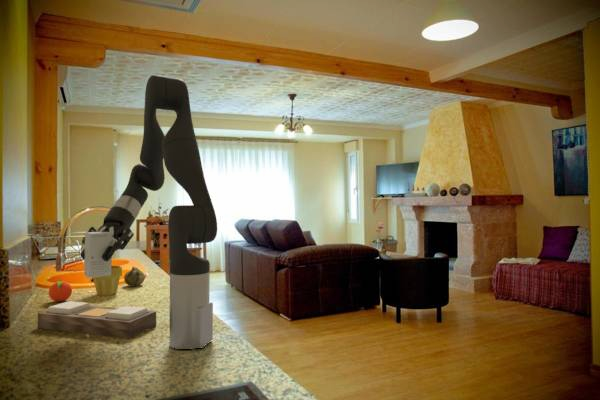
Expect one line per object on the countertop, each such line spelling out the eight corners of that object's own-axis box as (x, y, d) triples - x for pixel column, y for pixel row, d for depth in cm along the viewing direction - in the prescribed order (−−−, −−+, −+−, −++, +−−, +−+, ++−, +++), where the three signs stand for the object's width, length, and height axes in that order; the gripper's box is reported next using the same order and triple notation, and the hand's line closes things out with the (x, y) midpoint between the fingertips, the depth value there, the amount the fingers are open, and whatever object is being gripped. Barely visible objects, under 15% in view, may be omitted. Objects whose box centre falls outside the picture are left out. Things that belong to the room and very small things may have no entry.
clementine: (70, 303, 140) (70, 282, 140) (46, 305, 137) (46, 283, 137) (73, 298, 147) (73, 278, 147) (50, 300, 145) (50, 279, 145)
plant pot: (88, 297, 149) (88, 270, 149) (94, 291, 159) (94, 265, 159) (119, 296, 151) (119, 268, 151) (123, 290, 161) (123, 264, 161)
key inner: (147, 314, 114) (147, 307, 114) (129, 321, 107) (129, 314, 107) (125, 312, 116) (125, 306, 116) (106, 319, 109) (107, 312, 109)
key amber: (117, 316, 116) (117, 309, 116) (98, 323, 110) (98, 316, 110) (96, 314, 118) (96, 307, 118) (77, 321, 111) (77, 314, 112)
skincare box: (89, 278, 112) (89, 233, 112) (83, 276, 116) (83, 232, 116) (112, 275, 117) (112, 232, 117) (106, 273, 120) (106, 231, 120)
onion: (149, 285, 172) (149, 265, 172) (132, 288, 165) (132, 268, 165) (137, 283, 176) (137, 264, 176) (120, 286, 169) (120, 266, 169)
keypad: (156, 325, 115) (156, 311, 115) (129, 338, 105) (129, 322, 105) (70, 317, 123) (70, 303, 123) (37, 328, 113) (37, 313, 113)
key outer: (89, 309, 119) (89, 302, 119) (69, 315, 112) (69, 308, 112) (69, 307, 121) (69, 301, 121) (48, 313, 114) (48, 306, 114)
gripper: (96, 205, 125) (64, 249, 114) (138, 205, 121) (108, 251, 110) (109, 221, 130) (79, 265, 119) (149, 223, 127) (122, 268, 115)
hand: (93, 258), depth 115 cm, fingers closed on skincare box, 6 cm apart
